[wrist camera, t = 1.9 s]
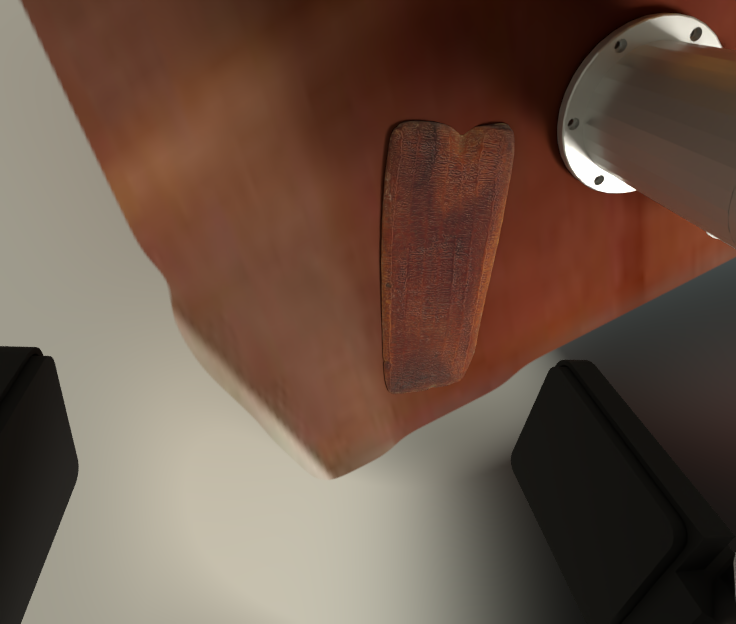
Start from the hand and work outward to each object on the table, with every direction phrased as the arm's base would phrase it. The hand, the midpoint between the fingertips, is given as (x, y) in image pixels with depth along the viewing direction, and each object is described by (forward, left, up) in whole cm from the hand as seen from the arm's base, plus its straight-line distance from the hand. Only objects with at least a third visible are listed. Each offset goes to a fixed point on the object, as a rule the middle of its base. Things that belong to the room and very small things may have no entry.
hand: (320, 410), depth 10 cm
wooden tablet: (-10, +16, -30) cm, 36 cm away
